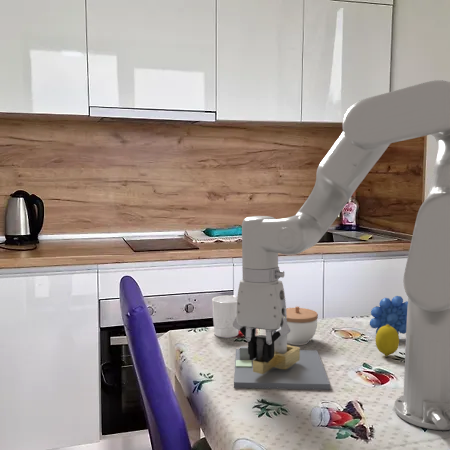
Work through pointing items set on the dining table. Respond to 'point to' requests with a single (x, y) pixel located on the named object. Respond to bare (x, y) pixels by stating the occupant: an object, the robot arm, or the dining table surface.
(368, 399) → the dining table surface
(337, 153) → the robot arm
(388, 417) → the dining table surface
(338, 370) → the dining table surface
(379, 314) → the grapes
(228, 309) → the white cup
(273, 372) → the post base
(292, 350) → the tan peg holder
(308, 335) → the lidded jar
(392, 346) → the lemon
